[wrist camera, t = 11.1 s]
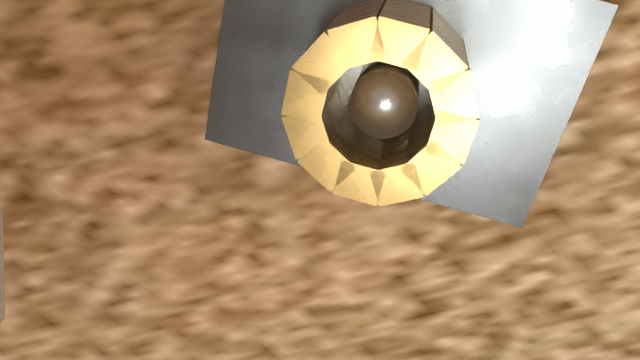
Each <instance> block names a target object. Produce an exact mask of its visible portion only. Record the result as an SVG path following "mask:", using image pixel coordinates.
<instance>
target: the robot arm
mask: <svg viewBox="0 0 640 360" xmlns="http://www.w3.org/2000/svg"><path fill="white" fill-rule="evenodd" d="M4 319H5V290H4V246H3V211H0V323H1V322H2V321H3V320H4Z"/></svg>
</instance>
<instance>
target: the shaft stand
mask: <svg viewBox="0 0 640 360" xmlns="http://www.w3.org/2000/svg"><path fill="white" fill-rule="evenodd" d="M365 1H368V0H225V4H224V11H223V18H222V25H221V32H220V38H219V45H218V52H217V59H216V66H215V73H214V80H213V87H212V94H211V101H210V107H209V114H208V121H207V128H206V135H205V140H209V141H213V142H216V143H220V144H223V145H227V146H230V147H234V148H238V149H241V150H245V151H248V152H252V153H256V154H259V155H263V156H266V157H270V158H274V159H277V160H281V161H284V162H288V163H292V164H295V165H299V166H301V165H300V164H299V163H298V160H299V159H295V156H294V153H293V150H292V147H291V145H290V142H289V139H288V136H287V133H286V130H285V127H284V124H283V121H282V118H281V117H282V116H283V115H281V112H282V107H283V102H284V97H285V92H286V88H287V83H288V78H289V73H290V69H291V68H292V66H293V65H294V64H295V62H296V61H297V60H298V59H299V58H300V57H301V56H302V54H303V53H304V52H305V51H306V50H307V49H308V48H309V47H310V45H311V44H312V43H313V42H314V41H315V40H316V39H317V37H318V36H319V35H320V34H321V33H322V32H323V31H324V30H325V29H326V28H327V27H328V26H329V24H330V23H331V22H332V21H333V20H334V19H335V18H336V17H337V16H338V15H339V14H340V13H341V12H342V10H343V9H344V8H346V7H348V6H351V5H355V4H358V3H361V2H365ZM411 1H415V2H419V3H423V4H427V5H431V7H430V9H431V8H433V7H434V8H435V9H436V10H437V11H438V12H439V14H440V15H441V16H442V17H443V18H444V19H445V20H446V21H447V22H448V23H449V24H450V25H451V26H452V27H453V28H454V29H455V30H456V31H457V32H458V33H459V34H460V35H461V36H462V39H463V40H464V45H465V49H466V54H467V59H468V63H469V68H470V72H471V77H472V82H473V86H474V91H475V96H476V101H477V105H478V110H479V115H480V118H479V119H480V122H479V124H478V127H477V130H476V133H475V135H474V138H473V141H472V144H471V146H470V149H469V152H468V155H467V157H466V160H465V163H464V164H462V167H461V168H460V169H459V170H458V171H457V172H455V173H454V174H453V175H452V176H451V177H449V178H448V179H447V180H446V181H444V182H443V183H442V184H441V185H440V186H438V187H437V188H436V189H435V190H434V191H432V192H431V193H430V194H429V195H427V196H426V195H425V194H424V197H423V198H418V199H421V200H425V201H428V202H432V203H435V204H439V205H443V206H446V207H450V208H453V209H457V210H461V211H464V212H468V213H471V214H475V215H479V216H482V217H486V218H489V219H493V220H497V221H500V222H504V223H507V224H511V225H514V226H518V227H522V226H523V223H524V221H525V219H526V217H527V214H528V212H529V210H530V207H531V205H532V203H533V200H534V198H535V196H536V194H537V191H538V189H539V187H540V184H541V182H542V180H543V177H544V175H545V173H546V171H547V168H548V166H549V164H550V161H551V159H552V157H553V154H554V152H555V150H556V148H557V145H558V143H559V141H560V138H561V136H562V134H563V131H564V129H565V127H566V125H567V122H568V120H569V118H570V115H571V113H572V111H573V109H574V106H575V104H576V102H577V99H578V97H579V95H580V92H581V90H582V88H583V86H584V83H585V81H586V79H587V76H588V74H589V72H590V69H591V67H592V65H593V63H594V60H595V58H596V56H597V53H598V51H599V49H600V46H601V44H602V42H603V40H604V37H605V35H606V33H607V30H608V28H609V26H610V23H611V21H612V19H613V17H614V14H615V12H616V10H617V7H618V5H617V4H615V3H613V2H612V1H610V0H411ZM341 81H342V84H343V87H344V91H345V94H346V98H347V101H348V103H349V111H350V115H351V118H352V120H353V122H354V123H355V125H356V126H357V127H358V128H359V129H360V130H361V131H362V132H364V133H365V134H367V135H369V136H372V137H375V138H382V139H384V138H392V137H396V136H398V135H400V134H402V133H403V132H405V131H406V130H407V129H408V128H409V127H410V126H411V125H412V123H413V122H414V120H415V117H416V114H417V113H418V112H419V111H420V110H421V109H422V108H423V107H424V106H426V105H427V104H428V103H429V100H430V97H431V96H430V92H429V89H428V88H427V87H426V86H425V85H424V84H423V83H422V82H421V81H420V80H419V79H418V78H417V77H415V76H414V75H413V74H412V73H411V72H410V71H409V70H408V69H407V68H403V67H400V66H396V65H392V64H388V63H385V62H381V61H374V62H371V63H367V64H363V65H359V66H356V67H352V68H348V69H347V70H346V71H345V72H344V73H343V74H342V78H341Z"/></svg>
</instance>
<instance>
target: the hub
mask: <svg viewBox="0 0 640 360" xmlns="http://www.w3.org/2000/svg"><path fill="white" fill-rule="evenodd" d="M430 7H431V5H427V4H423V3H419V2H415V1H411V0H368V1H365V2H361V3H358V4H355V5H351V6H348V7H346V8H344V9H343V10H342V12H341V13H340V14H339V15H338V16H337V17H336V18H335V19H334V20H333V21H332V22H331V23H330V24H329V26H328V27H327V28H326V29H325V30H324V31H323V32H322V33H321V34H320V35H319V36H318V37H317V39H316V40H315V41H314V42H313V43H312V44H311V45H310V47H309V48H308V49H307V50H306V51H305V52H304V53H303V54H302V56H301V57H300V58H299V59H298V60H297V61H296V62H295V64H294V65H293V66H292V68H291V69H290V73H289V78H288V83H287V88H286V92H285V97H284V102H283V107H282V112H281V115H283V116H282V117H281V118H282V121H283V124H284V127H285V130H286V133H287V136H288V139H289V142H290V145H291V147H292V150H293V153H294V156H295V159H299V160H298V163H299V164H300V165H301V166H302V167H303V168H304V169H305V170H306V171H307V172H309V173H310V174H311V175H312V176H313V177H314V178H315V179H316V180H317V181H318V182H319V183H321V184H322V185H323V186H324V187H325V188H326V189H327V190H328V191H329V192H331V191H332V190H333V189H334V192H333V194H335V195H339V196H342V197H346V198H349V199H353V200H356V201H360V202H364V203H367V204H371V205H374V206H376V205H377V202H378V203H379V206H383V205H388V204H393V203H398V202H403V201H408V200H413V199H418V198H423V197H424V194H425V195H426V196H427V195H429V194H430V193H431V192H432V191H434V190H435V189H436V188H437V187H438V186H440V185H441V184H442V183H443V182H444V181H446V180H447V179H448V178H449V177H451V176H452V175H453V174H454V173H455V172H457V171H458V170H459V169H460V168H461V167H462V164H464V163H465V160H466V157H467V155H468V152H469V149H470V146H471V144H472V141H473V138H474V135H475V133H476V130H477V127H478V124H479V122H480V119H479V118H480V115H479V110H478V105H477V101H476V96H475V91H474V86H473V82H472V77H471V72H470V68H469V63H468V59H467V54H466V49H465V45H464V40H463V39H462V36H461V35H460V34H459V33H458V32H457V31H456V30H455V29H454V28H453V27H452V26H451V25H450V24H449V23H448V22H447V21H446V20H445V19H444V18H443V17H442V16H441V15H440V14H439V12H438V11H437V10H436V9H435V8H434V7H433V8H431V9H430ZM374 61H381V62H385V63H388V64H392V65H396V66H400V67H403V68H407V69H408V70H409V71H410V72H411V73H412V74H413V75H414V76H415V77H417V78H418V79H419V80H420V81H421V82H422V83H423V84H424V85H425V86H426V87H427V88H428V89H429V92H430V96H431V97H430V100H429V103H428V104H427V105H426V106H424V107H423V108H422V109H421V110H420V111H419V112H418V113H417V114H416V117H415V120H414V122H413V123H412V125H411V126H410V127H409V128H408V129H407V130H406V131H405V132H403V133H402V134H400V135H398V136H396V137H392V138H384V139H382V138H375V137H372V136H369V135H367V134H365V133H364V132H362V131H361V130H360V129H359V128H358V127H357V126H356V125H355V123H354V122H353V120H352V118H351V115H350V111H349V103H348V101H347V98H346V94H345V91H344V87H343V84H342V81H341V78H342V74H343V73H344V72H345V71H346V70H347V69H348V68H352V67H356V66H359V65H363V64H367V63H371V62H374Z"/></svg>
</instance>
